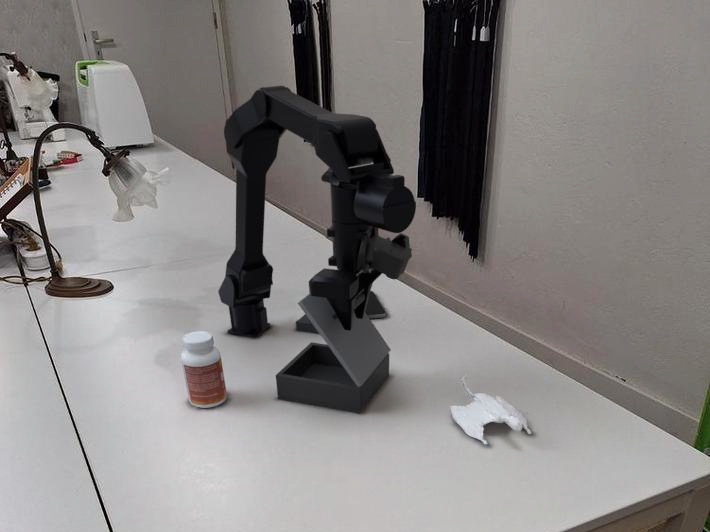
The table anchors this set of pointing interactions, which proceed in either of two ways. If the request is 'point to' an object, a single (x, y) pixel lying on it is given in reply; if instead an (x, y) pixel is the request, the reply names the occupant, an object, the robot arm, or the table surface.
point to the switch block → (305, 325)
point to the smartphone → (374, 307)
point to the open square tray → (327, 381)
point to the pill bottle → (203, 370)
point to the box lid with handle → (348, 337)
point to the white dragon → (486, 414)
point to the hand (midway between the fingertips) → (354, 324)
